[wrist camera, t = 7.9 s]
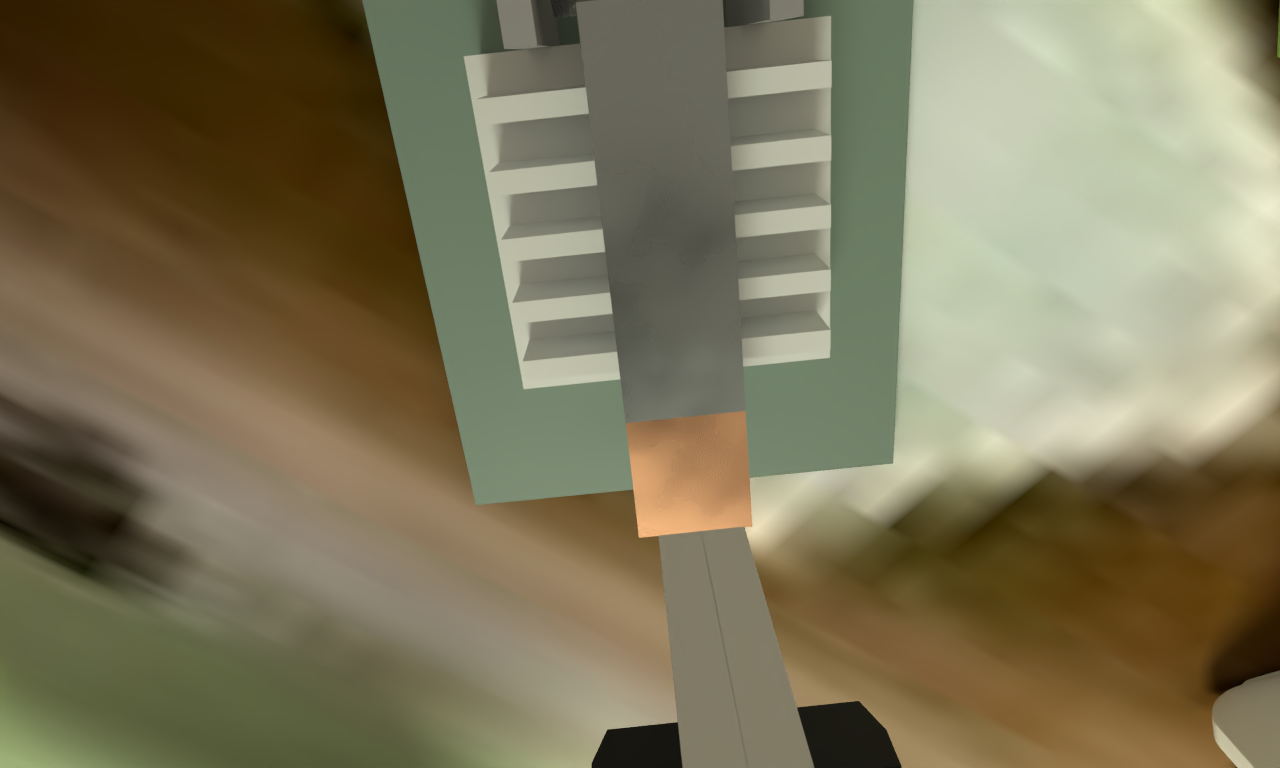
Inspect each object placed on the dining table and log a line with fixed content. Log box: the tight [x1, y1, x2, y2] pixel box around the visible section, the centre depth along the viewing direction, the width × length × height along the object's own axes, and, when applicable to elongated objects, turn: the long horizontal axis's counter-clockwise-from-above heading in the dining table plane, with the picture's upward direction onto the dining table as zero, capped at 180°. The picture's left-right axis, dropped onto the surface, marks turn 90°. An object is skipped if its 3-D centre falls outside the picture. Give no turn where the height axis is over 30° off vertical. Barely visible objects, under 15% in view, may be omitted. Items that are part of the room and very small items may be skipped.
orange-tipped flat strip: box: [550, 0, 752, 538], centre depth 21 cm, size 5×17×2 cm, turn 6°
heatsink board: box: [362, 0, 913, 505], centre depth 24 cm, size 18×24×9 cm
